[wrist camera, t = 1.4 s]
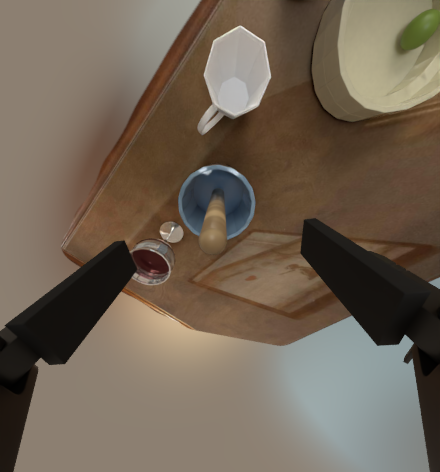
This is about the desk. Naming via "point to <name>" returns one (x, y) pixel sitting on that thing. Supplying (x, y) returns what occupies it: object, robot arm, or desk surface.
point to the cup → (235, 76)
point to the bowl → (373, 59)
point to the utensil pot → (199, 194)
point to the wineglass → (156, 255)
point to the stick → (214, 225)
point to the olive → (420, 29)
